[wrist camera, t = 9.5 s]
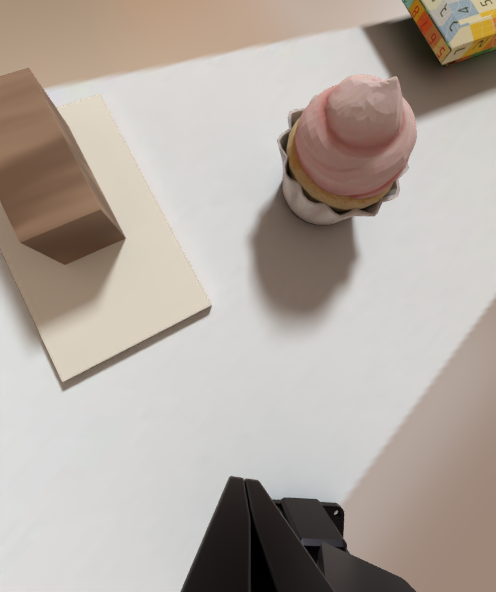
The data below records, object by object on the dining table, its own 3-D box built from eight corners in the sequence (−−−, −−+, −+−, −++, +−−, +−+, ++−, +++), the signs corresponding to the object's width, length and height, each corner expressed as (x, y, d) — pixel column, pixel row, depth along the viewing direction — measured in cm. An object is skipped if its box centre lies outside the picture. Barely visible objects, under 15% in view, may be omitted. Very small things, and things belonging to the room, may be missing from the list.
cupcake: (388, 186, 24) (508, 80, 14) (332, 265, 22) (425, 206, 12) (305, 121, 24) (368, -29, 14) (242, 195, 22) (263, 81, 12)
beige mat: (211, 305, 20) (211, 304, 20) (67, 380, 18) (62, 382, 18) (102, 100, 22) (99, 93, 21) (-42, 148, 20) (-50, 142, 19)
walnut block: (100, 209, 15) (28, 67, 16) (19, 242, 15) (-52, 91, 15) (126, 238, 20) (68, 125, 21) (64, 265, 19) (7, 146, 20)
